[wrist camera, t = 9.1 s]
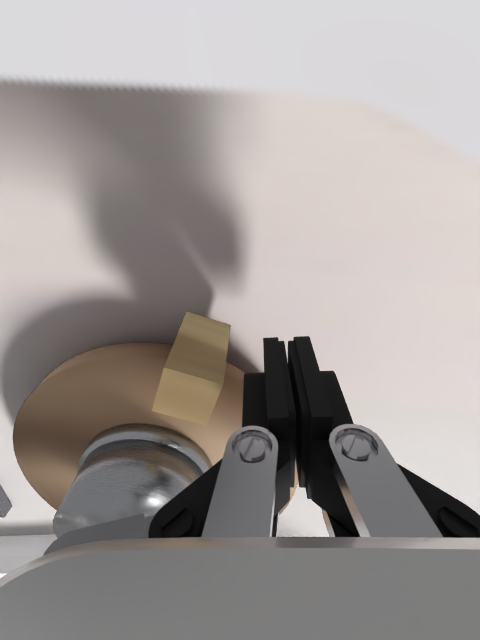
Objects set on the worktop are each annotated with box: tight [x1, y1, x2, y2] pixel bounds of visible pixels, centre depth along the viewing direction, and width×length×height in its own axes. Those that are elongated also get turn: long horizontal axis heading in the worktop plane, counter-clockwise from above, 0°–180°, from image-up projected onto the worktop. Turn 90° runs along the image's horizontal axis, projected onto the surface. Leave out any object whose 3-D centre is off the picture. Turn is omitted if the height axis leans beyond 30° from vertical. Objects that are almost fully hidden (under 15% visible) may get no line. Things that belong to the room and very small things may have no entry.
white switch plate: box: [0, 534, 57, 578], centre depth 25 cm, size 5×9×3 cm, turn 97°
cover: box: [53, 423, 212, 538], centre depth 15 cm, size 7×7×4 cm
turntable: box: [13, 311, 298, 515], centre depth 16 cm, size 17×15×4 cm
